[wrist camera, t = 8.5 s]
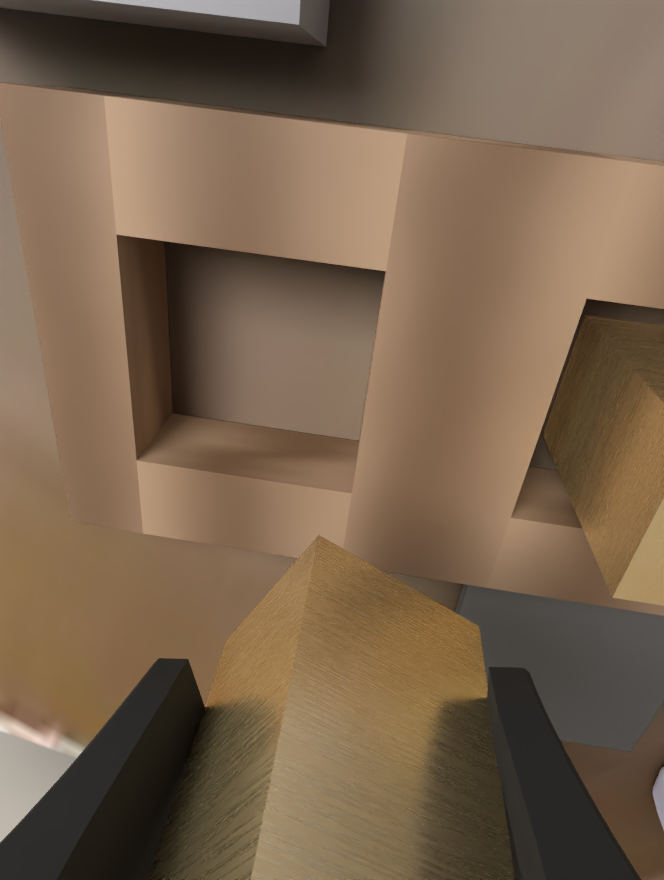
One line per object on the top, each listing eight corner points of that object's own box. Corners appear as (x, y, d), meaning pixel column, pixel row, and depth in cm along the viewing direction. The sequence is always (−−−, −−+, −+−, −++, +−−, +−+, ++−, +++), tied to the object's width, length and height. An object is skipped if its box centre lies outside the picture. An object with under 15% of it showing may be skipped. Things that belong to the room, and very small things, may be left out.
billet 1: (478, 626, 12) (555, 1166, 6) (369, 712, 14) (342, 1184, 8) (318, 534, 11) (215, 1055, 5) (226, 640, 13) (73, 1103, 7)
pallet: (959, 198, 13) (1089, 219, 11) (725, 564, 20) (774, 633, 17) (66, 87, 14) (-7, 81, 12) (112, 470, 21) (70, 522, 18)
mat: (718, 596, 20) (726, 609, 20) (625, 739, 25) (630, 752, 25) (471, 558, 21) (473, 570, 20) (425, 705, 25) (425, 717, 25)
